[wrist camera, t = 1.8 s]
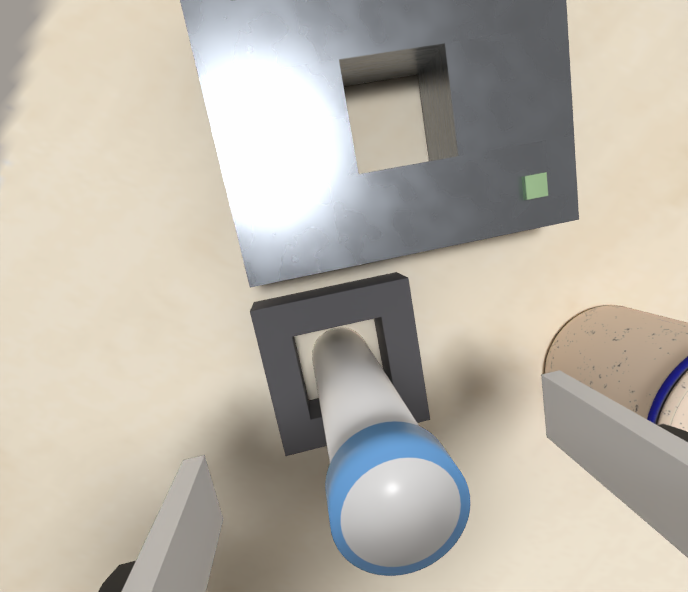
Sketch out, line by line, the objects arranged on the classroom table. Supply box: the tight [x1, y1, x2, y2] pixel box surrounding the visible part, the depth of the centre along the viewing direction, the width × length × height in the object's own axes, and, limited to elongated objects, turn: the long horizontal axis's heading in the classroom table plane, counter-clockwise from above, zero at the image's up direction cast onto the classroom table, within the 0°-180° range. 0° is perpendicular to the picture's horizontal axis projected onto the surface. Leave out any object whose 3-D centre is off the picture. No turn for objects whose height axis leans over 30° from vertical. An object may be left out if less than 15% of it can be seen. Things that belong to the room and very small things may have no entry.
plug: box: [312, 327, 470, 576], centre depth 18 cm, size 4×4×14 cm
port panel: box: [180, 0, 579, 287], centre depth 21 cm, size 18×14×4 cm
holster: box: [250, 272, 430, 456], centre depth 24 cm, size 9×9×2 cm
